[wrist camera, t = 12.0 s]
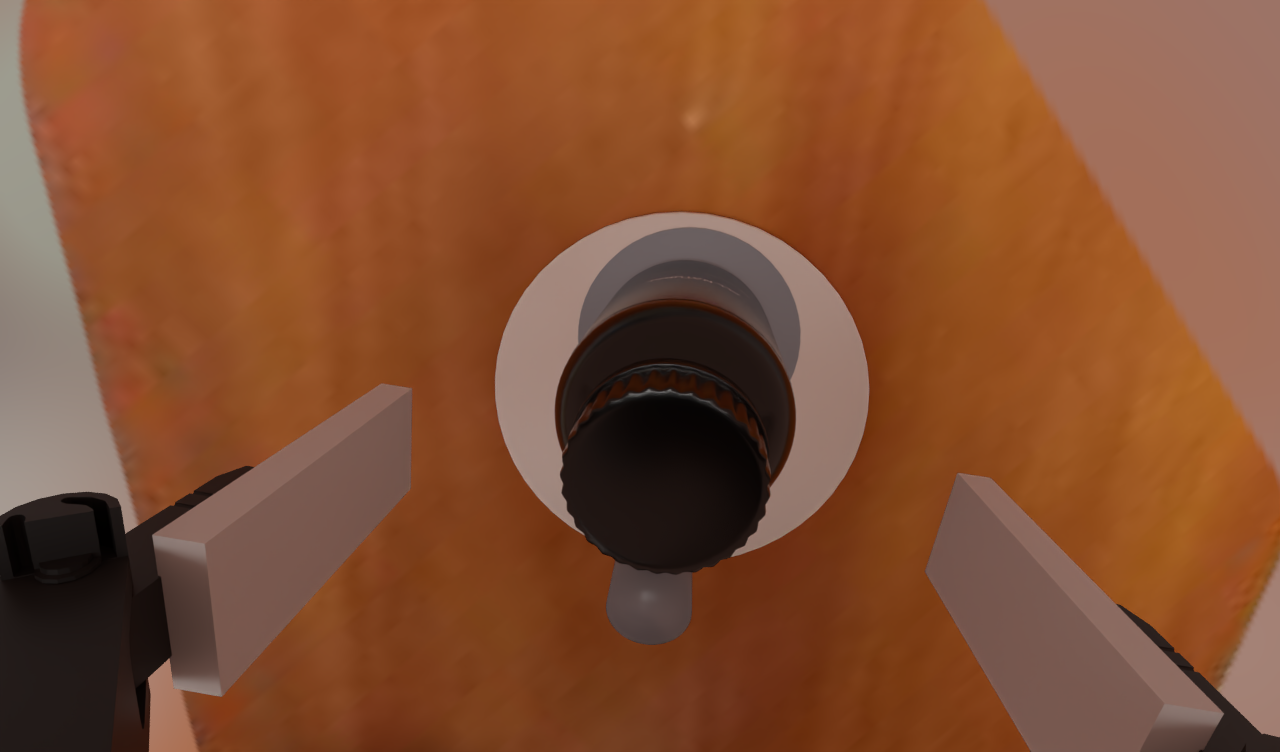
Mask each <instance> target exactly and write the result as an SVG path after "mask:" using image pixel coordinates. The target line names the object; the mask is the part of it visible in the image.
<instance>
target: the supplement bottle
mask: <svg viewBox="0 0 1280 752" xmlns="http://www.w3.org/2000/svg"><path fill="white" fill-rule="evenodd" d="M554 413H555V427H556V434H557V438H558V442H559V445H560V448H561V451H562V462H563V466H562V468H561V471H560V478H561V480H562V482H563V486H562V492H561V493H562V495H563V497H564V498H565V500H566V502H567V512H568V513H569V514H570V515H571V516H572V517H573V518H574V523H575V526H576V528H578V529H579V530H580V531H581V532H583V533H584V535H585V537H586V539H587V541H588V542H590V543H591V544H594V545H595V546H597V547H598V549H599V550H600V551H601V553H602V554H605V555H608V556H611V557H613V558H614V559H615V560H616V561H617V562H618V563H620V564H627V565H630V566H631V567H633V568H634V569H636V570H648V571H650V572H652V573H655V574H661V573H669V574H673V575H678V574H681V573H683V572H697V571H699V570H700V569H702V568H703V567H713V566H715V565H716V564H717V563H718V562H719V561H720V560H723V559H727V558H730V557H731V556H732V555H733V553H734V552H735V550H737V549H739V548H742V547H743V546H745V545H746V542H747V540H748V537H750V536H751V535H753V534H754V533H755V532H757V528H758V522H759V521H760V520H761V519H762V518H763V517H764V516H765V514H766V503H767V502H768V500H769V498H770V495H771V492H770V487H771V486H772V485H773V483H774V482H775V481H776V479H777V478H778V476H779V475H780V473H781V471H782V470H783V468H784V466H785V464H786V462H787V460H788V457H789V455H790V452H791V448H792V445H793V441H794V436H795V429H796V406H795V398H794V393H793V389H792V385H791V381H790V378H789V375H788V373H787V370H786V367H785V364H784V361H783V359H782V356H781V353H780V351H779V348H778V345H777V343H776V340H775V337H774V335H773V332H772V329H771V326H770V324H769V321H768V318H767V316H766V314H765V312H764V310H763V308H762V306H761V304H760V302H759V301H758V299H757V298H756V296H755V295H754V294H753V292H752V291H751V290H750V289H749V288H748V287H747V286H746V285H745V284H744V283H743V282H742V281H741V280H740V279H739V278H737V277H736V276H734V275H733V274H731V273H730V272H728V271H726V270H724V269H722V268H720V267H718V266H715V265H712V264H709V263H705V262H700V261H693V260H677V261H670V262H664V263H661V264H657V265H655V266H652V267H650V268H648V269H646V270H644V271H642V272H640V273H638V274H637V275H635V276H634V277H632V278H631V279H630V280H629V281H627V282H626V283H625V284H624V285H623V286H622V287H621V288H620V289H619V291H618V292H617V293H616V294H615V295H614V296H613V298H612V299H611V300H610V302H609V303H608V304H607V306H606V307H605V308H604V310H603V311H602V312H601V314H600V315H599V316H598V318H597V319H596V320H595V322H594V323H593V324H592V326H591V327H590V328H589V330H588V331H587V333H586V334H585V335H584V337H583V338H582V339H581V341H580V342H579V343H578V345H577V346H576V348H575V349H574V351H573V352H572V354H571V356H570V358H569V360H568V361H567V363H566V365H565V367H564V370H563V372H562V375H561V377H560V380H559V384H558V387H557V392H556V398H555V410H554Z"/></svg>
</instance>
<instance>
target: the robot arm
mask: <svg viewBox="0 0 1280 752" xmlns="http://www.w3.org/2000/svg"><path fill="white" fill-rule="evenodd" d="M411 432H412V388H407V387H400V386H394V385H387V384H380V385H378V386H377V387H375V388H374V389H372V390H371V391H369V392H368V393H366V394H365V395H363V396H362V397H360V398H359V399H357V400H356V401H354V402H353V403H351V404H350V405H348V406H347V407H345V408H344V409H342V410H341V411H339V412H338V413H336V414H335V415H333V416H332V417H330V418H329V419H327V420H325V421H324V422H322V423H321V424H319V425H318V426H316V427H315V428H313V429H312V430H310V431H309V432H307V433H306V434H304V435H303V436H301V437H300V438H298V439H297V440H295V441H294V442H292V443H291V444H289V445H288V446H286V447H285V448H283V449H282V450H280V451H279V452H277V453H276V454H274V455H273V456H271V457H269V458H268V459H266V460H265V461H263V462H262V463H260V464H259V465H257V466H256V467H250V466H245V467H242V468H239V469H236V470H233V471H231V472H228V473H225V474H222V475H219V476H217V477H215V478H213V479H212V480H210V481H209V482H207V483H205V484H204V485H202V486H201V487H199V488H198V489H196V490H194V493H193V494H188V495H186V496H185V497H183V498H182V499H180V500H178V501H177V502H175V505H174V506H171V505H170V506H169V507H167V508H166V509H164V510H162V511H161V512H159V513H158V514H156V515H154V516H153V517H151V518H150V519H148V520H147V521H145V522H143V523H142V524H140V525H139V526H137V527H135V528H134V529H132V530H131V531H129V532H127V533H126V534H125V530H124V524H123V517H122V511H121V506H120V504H119V501H118V499H116V498H114V497H112V496H110V495H107V494H103V493H93V492H79V493H66V494H60V495H55V496H51V497H46V498H41V499H37V500H35V501H32V502H29V503H26V504H23V505H20V506H18V507H15V508H13V509H12V510H10V511H8V512H6V513H5V514H3V515H1V516H0V752H149V727H150V689H149V683H148V677H149V676H150V675H151V674H153V673H154V672H155V671H156V670H157V669H158V668H159V667H160V666H161V665H162V664H163V663H164V662H166V661H167V660H168V659H169V658H170V664H171V671H172V678H173V685H174V688H175V689H181V690H186V691H192V692H198V693H203V694H209V695H215V696H220V697H222V696H223V695H224V694H225V693H226V691H227V690H228V689H229V688H230V687H231V686H232V685H233V684H234V683H235V682H236V680H237V679H238V678H239V677H240V676H241V675H242V674H243V673H244V672H245V671H246V669H247V668H248V667H249V666H250V665H251V664H252V663H253V662H254V661H255V660H256V658H257V657H258V656H259V655H260V654H261V653H262V652H263V651H264V650H265V649H266V647H267V646H268V645H269V644H270V643H271V642H272V641H273V640H274V639H275V638H276V636H277V635H278V634H279V633H280V632H281V631H282V630H283V629H284V628H285V626H286V625H287V624H288V623H289V622H290V621H291V620H292V619H293V618H294V617H295V615H296V614H297V613H298V612H299V611H300V610H301V609H302V608H303V607H304V606H305V604H306V603H307V602H308V601H309V600H310V599H311V598H312V597H313V596H314V595H315V593H316V592H317V591H318V590H319V589H320V588H321V587H322V586H323V585H324V584H325V582H326V581H327V580H328V579H329V578H330V577H331V576H332V575H333V574H334V573H335V571H336V570H337V569H338V568H339V567H340V566H341V565H342V564H343V563H344V562H345V560H346V559H347V558H348V557H349V556H350V555H351V554H352V553H353V552H354V551H355V549H356V548H357V547H358V546H359V545H360V544H361V543H362V542H363V541H364V539H365V538H366V537H367V536H368V535H369V534H370V533H371V532H372V531H373V530H374V528H375V527H376V526H377V525H378V524H379V523H380V522H381V521H382V520H383V519H384V517H385V516H386V515H387V514H388V513H389V512H390V511H391V510H392V509H393V508H394V506H395V505H396V504H397V503H398V502H399V501H400V500H401V499H402V498H403V497H404V495H405V494H406V493H407V492H408V491H409V490H410V489H411ZM925 573H926V574H927V576H928V578H929V579H930V581H931V583H932V584H933V586H934V588H935V589H936V591H937V593H938V595H939V596H940V598H941V600H942V601H943V603H944V605H945V606H946V608H947V610H948V612H949V613H950V615H951V617H952V618H953V620H954V622H955V623H956V625H957V627H958V629H959V630H960V632H961V634H962V635H963V637H964V639H965V640H966V642H967V644H968V646H969V647H970V649H971V651H972V652H973V654H974V656H975V657H976V659H977V661H978V663H979V664H980V666H981V668H982V669H983V671H984V673H985V674H986V676H987V678H988V679H989V681H990V683H991V685H992V686H993V688H994V690H995V691H996V693H997V695H998V696H999V698H1000V700H1001V702H1002V703H1003V705H1004V707H1005V708H1006V710H1007V712H1008V713H1009V715H1010V717H1011V719H1012V720H1013V722H1014V724H1015V725H1016V727H1017V729H1018V730H1019V732H1020V734H1021V736H1022V737H1023V739H1024V741H1025V742H1026V744H1027V746H1028V747H1029V749H1030V751H1031V752H1280V737H1275V736H1271V735H1267V734H1261V733H1260V732H1259V731H1258V730H1257V729H1256V728H1255V727H1254V726H1253V725H1252V724H1251V723H1250V722H1249V721H1248V720H1247V719H1246V718H1245V717H1244V716H1243V715H1242V714H1241V713H1240V712H1239V711H1238V710H1237V709H1235V708H1234V706H1232V705H1231V704H1230V703H1229V702H1228V701H1227V700H1226V699H1225V698H1224V697H1223V696H1222V695H1221V694H1220V693H1219V692H1218V691H1217V690H1216V689H1215V688H1214V687H1213V686H1212V685H1211V684H1210V683H1209V682H1208V681H1207V680H1206V679H1205V678H1204V677H1203V676H1202V675H1201V674H1200V673H1199V672H1194V670H1193V668H1194V667H1193V666H1192V665H1191V664H1190V663H1189V662H1188V661H1186V660H1185V659H1184V658H1183V657H1182V656H1181V655H1180V654H1179V653H1175V652H1174V648H1173V647H1172V646H1171V645H1170V644H1169V643H1168V642H1167V641H1166V640H1165V639H1164V638H1163V637H1162V636H1161V635H1160V634H1159V633H1158V632H1157V631H1156V630H1155V629H1154V628H1153V627H1152V626H1150V625H1149V624H1148V623H1146V622H1145V621H1143V620H1142V619H1140V618H1139V617H1137V616H1136V615H1134V614H1133V613H1131V612H1130V611H1128V610H1127V609H1126V608H1124V607H1123V606H1121V605H1118V604H1115V603H1114V602H1113V601H1112V600H1111V599H1110V598H1109V597H1108V596H1107V595H1106V594H1105V593H1104V592H1103V591H1102V590H1101V589H1100V588H1099V587H1098V586H1097V585H1096V584H1095V583H1094V582H1093V581H1092V580H1091V579H1090V578H1089V577H1088V576H1087V575H1086V574H1085V573H1084V572H1083V571H1082V570H1081V569H1080V568H1079V567H1078V566H1077V565H1076V564H1075V563H1074V562H1073V561H1072V560H1071V559H1070V558H1069V557H1068V556H1067V555H1066V554H1065V552H1064V551H1063V550H1062V549H1061V548H1060V547H1059V546H1058V545H1057V544H1056V543H1055V542H1054V541H1053V540H1052V539H1051V538H1050V537H1049V536H1048V535H1047V534H1046V533H1045V532H1044V531H1043V530H1042V529H1041V528H1040V527H1039V526H1038V525H1037V524H1036V523H1035V522H1034V521H1033V520H1032V519H1031V518H1030V517H1029V516H1028V515H1027V514H1026V513H1025V512H1024V511H1023V510H1022V509H1021V508H1020V507H1019V506H1018V505H1017V504H1016V503H1015V502H1014V501H1013V500H1012V499H1011V498H1010V497H1009V496H1008V495H1007V494H1006V493H1005V492H1004V491H1003V490H1002V489H1001V488H1000V487H999V486H998V485H997V484H996V483H995V482H994V481H993V480H992V479H991V478H988V477H982V476H975V475H969V474H962V473H957V476H956V479H955V482H954V485H953V488H952V491H951V494H950V497H949V500H948V503H947V506H946V509H945V512H944V515H943V518H942V521H941V524H940V527H939V530H938V533H937V536H936V539H935V542H934V545H933V548H932V551H931V554H930V557H929V560H928V563H927V566H926V570H925Z"/></svg>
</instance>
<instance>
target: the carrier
mask: <svg viewBox="0 0 1280 752" xmlns="http://www.w3.org/2000/svg"><path fill="white" fill-rule="evenodd" d="M677 260H693V261H700V262H705V263H709V264H712V265H715V266H718V267H720V268H722V269H724V270H726V271H728V272H730V273H731V274H733V275H734V276H736V277H737V278H739V279H740V280H741V281H742V282H743V283H744V284H745V285H746V286H747V287H748V288H749V289H750V290H751V291H752V292H753V294H754V295H755V296H756V298H757V299H758V301H759V302H760V304H761V306H762V308H763V310H764V312H765V314H766V316H767V318H768V321H769V324H770V326H771V329H772V332H773V335H774V337H775V340H776V343H777V345H778V348H779V351H780V353H781V356H782V359H783V361H784V364H785V367H786V370H787V373H788V375H789V378H790V381H791V385H792V389H793V393H794V398H795V406H796V429H795V436H794V441H793V445H792V448H791V452H790V455H789V457H788V460H787V462H786V464H785V466H784V468H783V470H782V471H781V473H780V475H779V476H778V478H777V479H776V481H775V482H774V483H773V485H772V486H771V487H770V492H771V495H770V498H769V500H768V502H767V503H766V514H765V516H764V517H763V518H762V519H761V520H760V521H759V522H758V528H757V532H755V533H754V534H753V535H751V536H750V537H748V540H747V542H746V545H745V546H743V547H742V548H739V549H737V550H735V552H734V553H733V555H732V556H737V555H741V554H744V553H746V552H749V551H752V550H755V549H758V548H761V547H763V546H765V545H767V544H769V543H771V542H773V541H775V540H777V539H779V538H781V537H782V536H784V535H786V534H787V533H789V532H790V531H792V530H793V529H795V528H796V527H798V526H799V525H801V524H802V523H803V522H804V521H805V520H807V519H808V518H809V517H810V516H811V515H813V514H814V513H815V512H816V511H817V510H818V509H819V508H820V507H821V506H822V505H823V504H824V503H825V502H826V500H827V499H828V498H829V497H830V496H831V495H832V494H833V492H834V491H835V490H836V488H837V487H838V485H839V484H840V482H841V481H842V480H843V478H844V477H845V475H846V473H847V471H848V469H849V467H850V466H851V464H852V462H853V460H854V458H855V456H856V453H857V450H858V448H859V445H860V442H861V439H862V436H863V433H864V428H865V423H866V419H867V414H868V402H869V378H868V367H867V361H866V357H865V353H864V348H863V344H862V340H861V338H860V335H859V333H858V330H857V328H856V325H855V323H854V320H853V318H852V316H851V314H850V312H849V311H848V309H847V307H846V305H845V304H844V302H843V300H842V299H841V297H840V295H839V294H838V293H837V291H836V290H835V289H834V288H833V286H832V285H831V284H830V283H829V281H828V280H827V279H826V278H825V276H824V275H823V274H822V273H821V272H820V271H819V270H818V269H816V268H815V267H814V266H813V265H812V264H811V263H810V262H809V261H808V260H807V259H806V258H805V257H804V256H803V255H801V254H800V253H799V252H797V251H796V250H795V249H793V248H792V247H790V246H789V245H788V244H786V243H785V242H783V241H782V240H781V239H779V238H777V237H775V236H773V235H771V234H769V233H767V232H765V231H763V230H762V229H760V228H758V227H755V226H752V225H750V224H747V223H744V222H741V221H738V220H736V219H733V218H728V217H723V216H719V215H714V214H709V213H699V212H685V211H677V212H661V213H652V214H647V215H642V216H637V217H632V218H628V219H626V220H623V221H620V222H617V223H614V224H611V225H608V226H606V227H604V228H602V229H600V230H598V231H596V232H594V233H592V234H590V235H588V236H586V237H584V238H582V239H581V240H579V241H578V242H576V243H575V244H574V245H572V246H571V247H569V248H568V249H566V250H565V251H563V252H562V253H561V254H559V255H558V256H557V257H556V258H555V259H554V260H553V261H551V262H550V263H549V264H548V265H547V266H546V267H545V268H544V269H543V270H542V271H541V272H540V273H539V274H538V275H537V277H536V278H535V279H534V280H533V281H532V283H531V284H530V285H529V286H528V288H527V289H526V290H525V292H524V293H523V295H522V297H521V298H520V300H519V301H518V303H517V305H516V306H515V308H514V310H513V312H512V314H511V316H510V319H509V321H508V323H507V326H506V328H505V330H504V333H503V337H502V341H501V344H500V348H499V352H498V357H497V365H496V373H495V400H496V406H497V413H498V420H499V424H500V427H501V431H502V434H503V437H504V441H505V443H506V446H507V448H508V450H509V453H510V455H511V457H512V459H513V462H514V463H515V465H516V467H517V468H518V470H519V472H520V473H521V475H522V477H523V478H524V480H525V482H526V483H527V484H528V485H529V487H530V488H531V489H532V491H533V492H534V493H535V494H536V496H537V497H538V498H539V499H540V500H541V501H542V502H543V503H544V504H545V505H546V506H547V507H548V508H549V509H550V510H551V511H552V512H553V513H554V514H555V515H556V516H558V517H559V518H560V519H561V520H563V521H564V522H565V523H566V524H568V525H569V526H570V527H572V528H573V529H575V530H577V531H578V532H580V533H581V534H583V535H584V533H583V532H581V531H580V530H579V529H578V528H576V526H575V523H574V518H573V517H572V516H571V515H570V514H569V513H568V512H567V502H566V500H565V498H564V497H563V495H562V493H561V492H562V486H563V482H562V480H561V478H560V471H561V468H562V466H563V462H562V451H561V448H560V445H559V442H558V438H557V434H556V427H555V413H554V410H555V398H556V392H557V387H558V384H559V380H560V377H561V375H562V372H563V370H564V367H565V365H566V363H567V361H568V360H569V358H570V356H571V354H572V352H573V351H574V349H575V348H576V346H577V345H578V343H579V342H580V341H581V339H582V338H583V337H584V335H585V334H586V333H587V331H588V330H589V328H590V327H591V326H592V324H593V323H594V322H595V320H596V319H597V318H598V316H599V315H600V314H601V312H602V311H603V310H604V308H605V307H606V306H607V304H608V303H609V302H610V300H611V299H612V298H613V296H614V295H615V294H616V293H617V292H618V291H619V289H620V288H621V287H622V286H623V285H624V284H625V283H626V282H627V281H629V280H630V279H631V278H632V277H634V276H635V275H637V274H638V273H640V272H642V271H644V270H646V269H648V268H650V267H652V266H655V265H657V264H661V263H664V262H670V261H677ZM732 556H731V557H732ZM606 611H607V616H608V618H609V621H610V622H611V624H612V626H613V627H614V628H615V629H616V630H617V631H618V632H619V633H620V634H621V635H623V636H624V637H626V638H627V639H629V640H632V641H634V642H637V643H641V644H648V645H656V644H663V643H666V642H669V641H672V640H674V639H675V638H677V637H679V636H680V635H681V634H682V633H683V632H684V631H685V630H686V628H687V627H688V625H689V623H690V620H691V614H692V572H683V573H681V574H678V575H673V574H669V573H661V574H655V573H652V572H650V571H648V570H636V569H634V568H633V567H631V566H630V565H627V564H620V563H618V562H617V561H616V560H615V565H614V569H613V574H612V579H611V584H610V588H609V593H608V598H607V603H606Z"/></svg>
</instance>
